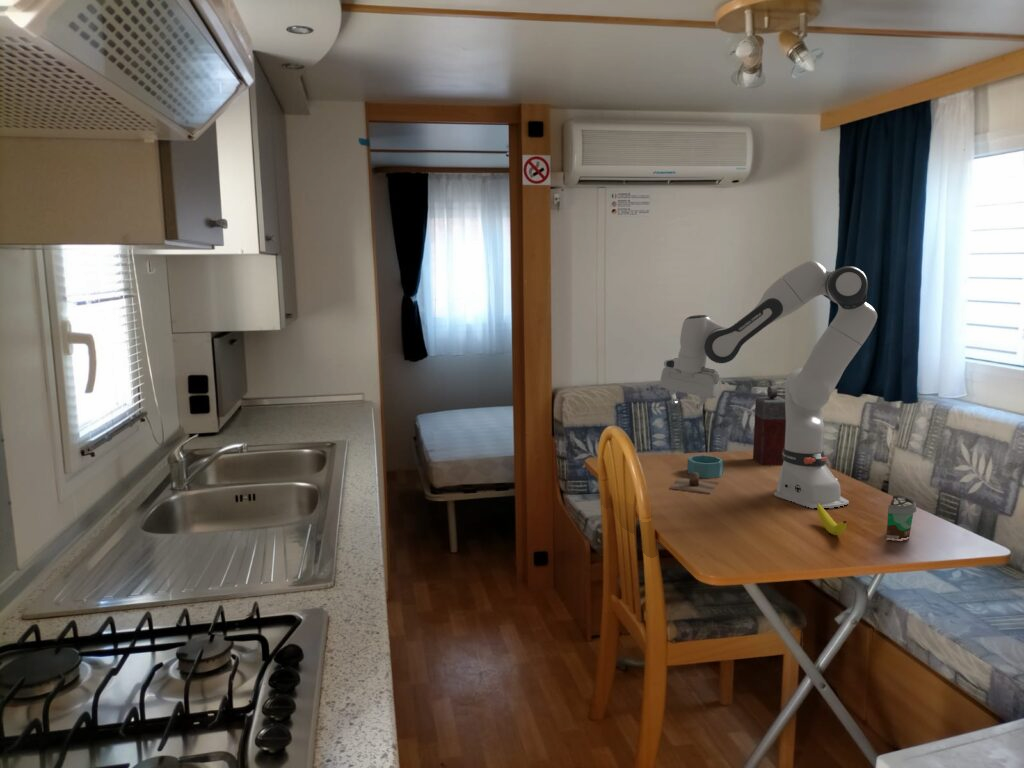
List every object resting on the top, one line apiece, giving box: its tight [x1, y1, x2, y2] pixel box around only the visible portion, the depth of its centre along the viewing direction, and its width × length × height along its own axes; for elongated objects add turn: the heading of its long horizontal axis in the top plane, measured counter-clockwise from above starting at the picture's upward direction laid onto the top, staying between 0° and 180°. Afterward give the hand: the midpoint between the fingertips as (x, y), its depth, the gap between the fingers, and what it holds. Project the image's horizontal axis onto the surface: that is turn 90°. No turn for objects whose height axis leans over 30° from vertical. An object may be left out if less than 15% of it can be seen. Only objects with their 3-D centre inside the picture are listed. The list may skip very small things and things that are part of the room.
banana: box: [817, 503, 847, 536], centre depth 203 cm, size 3×19×6 cm, turn 178°
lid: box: [669, 472, 719, 495], centre depth 245 cm, size 13×13×5 cm
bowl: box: [686, 454, 724, 479], centre depth 259 cm, size 11×11×5 cm
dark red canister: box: [752, 385, 786, 466], centre depth 272 cm, size 9×11×28 cm
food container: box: [885, 493, 917, 539], centre depth 199 cm, size 12×6×10 cm, turn 148°
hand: (686, 406), depth 245 cm, fingers open, 8 cm apart
